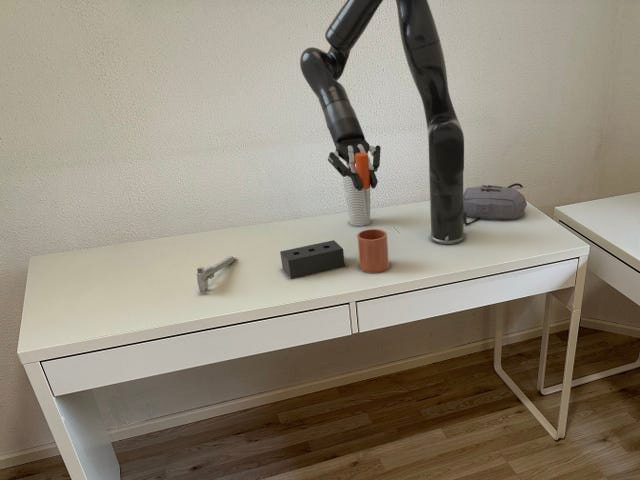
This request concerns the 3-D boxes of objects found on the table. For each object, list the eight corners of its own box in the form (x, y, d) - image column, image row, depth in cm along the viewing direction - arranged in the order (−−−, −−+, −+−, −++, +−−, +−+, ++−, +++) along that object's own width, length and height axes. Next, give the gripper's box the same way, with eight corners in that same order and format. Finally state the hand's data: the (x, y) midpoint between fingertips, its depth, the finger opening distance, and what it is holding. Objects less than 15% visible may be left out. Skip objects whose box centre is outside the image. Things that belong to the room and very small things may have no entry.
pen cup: (369, 259, 180) (367, 227, 175) (394, 264, 177) (392, 231, 172) (354, 270, 174) (351, 237, 169) (379, 275, 172) (377, 242, 167)
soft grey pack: (458, 220, 204) (524, 224, 202) (458, 193, 199) (526, 197, 197) (466, 203, 216) (528, 206, 214) (466, 177, 212) (529, 180, 210)
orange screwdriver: (364, 211, 170) (359, 151, 161) (375, 213, 169) (370, 153, 160) (358, 215, 167) (352, 155, 159) (368, 217, 166) (363, 156, 158)
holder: (282, 269, 174) (279, 251, 171) (335, 257, 181) (333, 240, 178) (290, 278, 169) (288, 260, 167) (345, 266, 176) (343, 248, 173)
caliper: (204, 294, 162) (199, 271, 158) (200, 294, 162) (194, 270, 159) (235, 259, 179) (231, 237, 176) (231, 259, 179) (227, 237, 176)
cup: (350, 216, 206) (345, 166, 197) (377, 218, 205) (373, 167, 196) (342, 227, 199) (336, 175, 190) (370, 228, 198) (365, 176, 189)
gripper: (318, 119, 158) (343, 185, 156) (373, 112, 164) (398, 175, 162) (313, 137, 165) (337, 200, 163) (366, 130, 171) (390, 190, 169)
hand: (367, 187), depth 162 cm, fingers closed on orange screwdriver, 3 cm apart
